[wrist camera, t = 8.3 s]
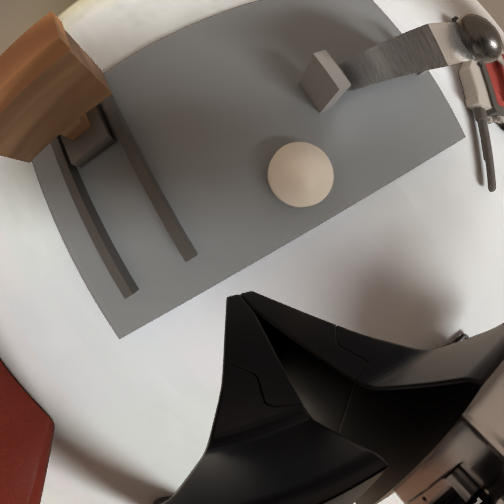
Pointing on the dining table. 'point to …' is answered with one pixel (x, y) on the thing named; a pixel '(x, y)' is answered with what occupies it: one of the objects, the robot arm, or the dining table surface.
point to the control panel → (234, 150)
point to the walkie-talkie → (485, 101)
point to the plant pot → (22, 443)
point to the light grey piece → (425, 51)
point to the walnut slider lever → (51, 96)
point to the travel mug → (161, 500)
